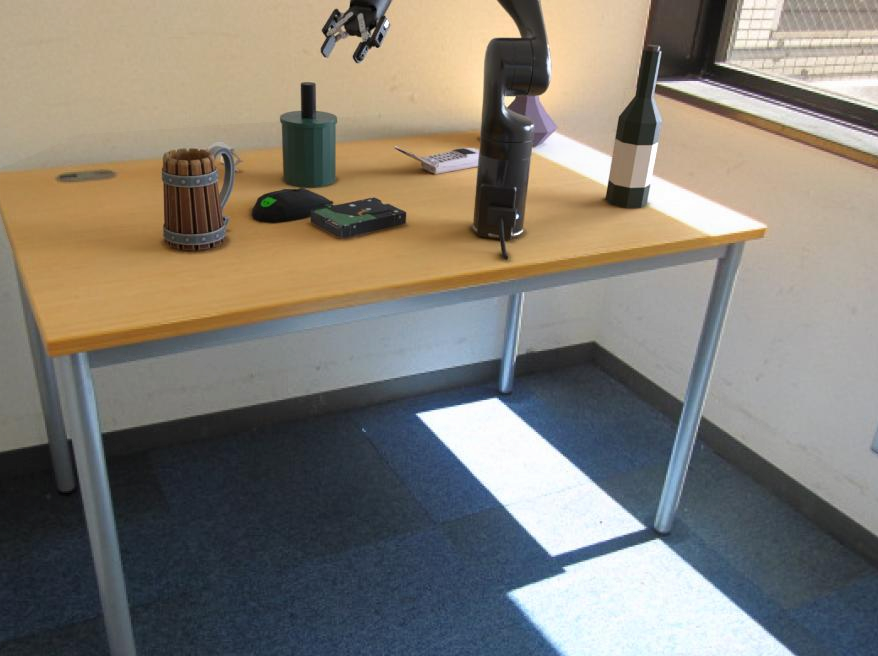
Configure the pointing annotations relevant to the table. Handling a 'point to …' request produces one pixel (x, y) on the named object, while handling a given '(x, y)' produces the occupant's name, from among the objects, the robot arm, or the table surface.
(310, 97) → the green pot lid
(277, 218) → the computer mouse
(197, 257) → the table surface
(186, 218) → the mug
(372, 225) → the disk drive
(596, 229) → the table surface
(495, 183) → the robot arm
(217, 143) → the origami figure
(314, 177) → the cylindrical cup
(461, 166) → the mobile phone
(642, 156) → the wine bottle
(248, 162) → the table surface
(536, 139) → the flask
